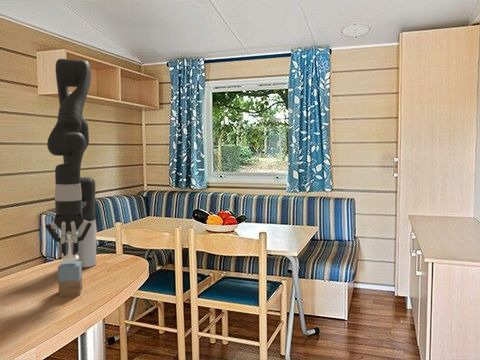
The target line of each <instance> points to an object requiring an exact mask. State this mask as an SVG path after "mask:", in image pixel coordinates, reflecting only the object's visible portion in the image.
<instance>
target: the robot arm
mask: <svg viewBox="0 0 480 360" xmlns="http://www.w3.org/2000/svg"><path fill="white" fill-rule="evenodd" d="M54 69H55V78H56V79H55V80H56V86H57V96H58V102H59V107H58V108H59V109H58V114H57V121H56V123H55V125H54V126H53V128H52V130H51V132H50V134H49V136H48V138H47V144H46V146H47V149H48V152H49V153H50V154H51V155H52V156H55V157H56V156H57V157H60V156H61V157H62V158H63V159H62V160H63V161H62V162H63V163H60V164H57V165H56V166H55V168H54V169H55V170H54V174H55V175H54V177H55V180H54V181H55V186H54V207H55V213H54V214H55V216H54V219H53V221H51V222H49V223H47V224H45V228H46V230H47V231H48V234H49V235H50V236H51V238H52V240H53V241H54V242H56V243H60V251H61V255H63V256H66V254H67V252H68V243H67V242H66V241H67V236H66V233H68V231H70V232H71V233H72V239H71V240H73V242H71V243H72V249H73V255H78V256H79V259H78V260H76V261H81V263H82V269H85V268H90V267H94V266H96V264H97V232H96V230H97V229H96V182H95V179H94V177H92V176H90V177H89V176H81V167H82V161H83V157H84V153H85V151H86V150H87V149H88V146H89V144H90V131H89V124H88V121H87V120H86V118H85V117H84V115H83V112H84V106H85V105H86V104H85V103H86V99H87V97H88V93H89V90H90V86H91V82H92V69H91V65H90V63H89V61H88V60H84V59H75V58H74V59H73V58H58V59H57V60H56V63H55V68H54ZM69 88H75V89H74V90H73V91H72V92H71V93H70V90H69ZM83 203H85V204H84V206H83ZM56 227H57V228H58V229H59V230H60V235H59V234H58V233H57V231H56V230H55V228H56ZM70 262H71V261H70Z"/></svg>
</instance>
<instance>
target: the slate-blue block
mask: <svg viewBox="0 0 480 360" xmlns="http://www.w3.org/2000/svg"><path fill="white" fill-rule="evenodd" d="M82 269H83V268H82V263H81V261H71V262H65V261H61V262H60V263H59V265H58V266H57V283H58V282H69V281H80V278H81V276H82V277H83V274H82V273H83V270H82Z"/></svg>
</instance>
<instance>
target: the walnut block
mask: <svg viewBox="0 0 480 360" xmlns="http://www.w3.org/2000/svg"><path fill="white" fill-rule="evenodd" d="M57 283H58V297H60V298H61V297H71V296H72V297H73V296H81V294H82V290H83V275H82V276H81V278H80V281H69V282H58V281H57Z"/></svg>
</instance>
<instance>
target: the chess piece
mask: <svg viewBox="0 0 480 360" xmlns="http://www.w3.org/2000/svg"><path fill="white" fill-rule="evenodd" d="M71 239H72V233H71V232H70V231H68V232H67V233H66V242H67V254H66V255H63V256H62V257H61V262H70V261H76V260H78V259H79V256H78V255H73V249H72V243H71V242H73V240H71Z"/></svg>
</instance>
